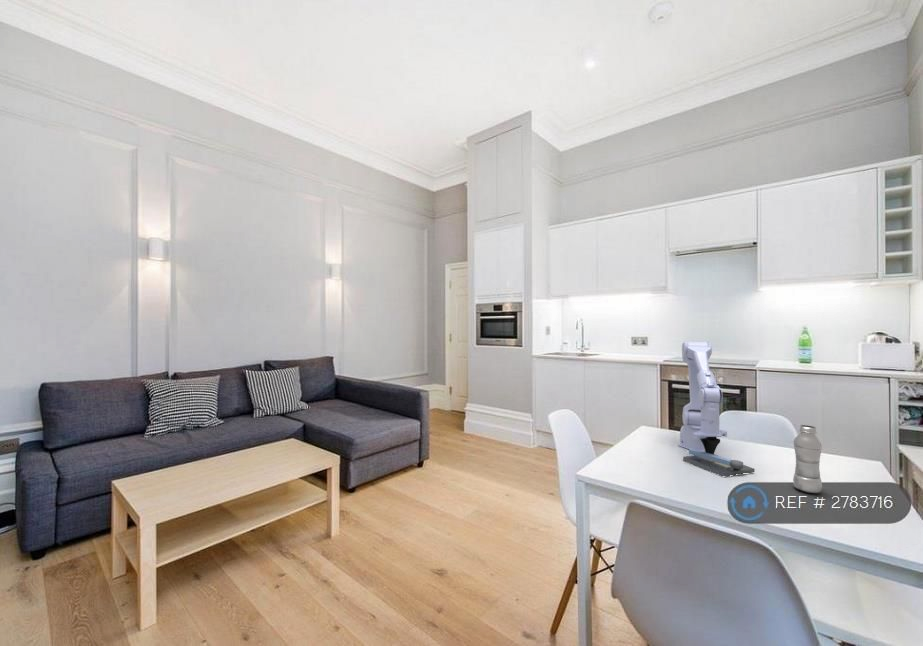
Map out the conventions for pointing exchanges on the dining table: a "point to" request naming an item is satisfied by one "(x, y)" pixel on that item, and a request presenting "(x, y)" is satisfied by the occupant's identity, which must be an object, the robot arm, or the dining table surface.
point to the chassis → (716, 466)
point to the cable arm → (717, 458)
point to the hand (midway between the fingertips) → (709, 457)
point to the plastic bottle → (807, 460)
